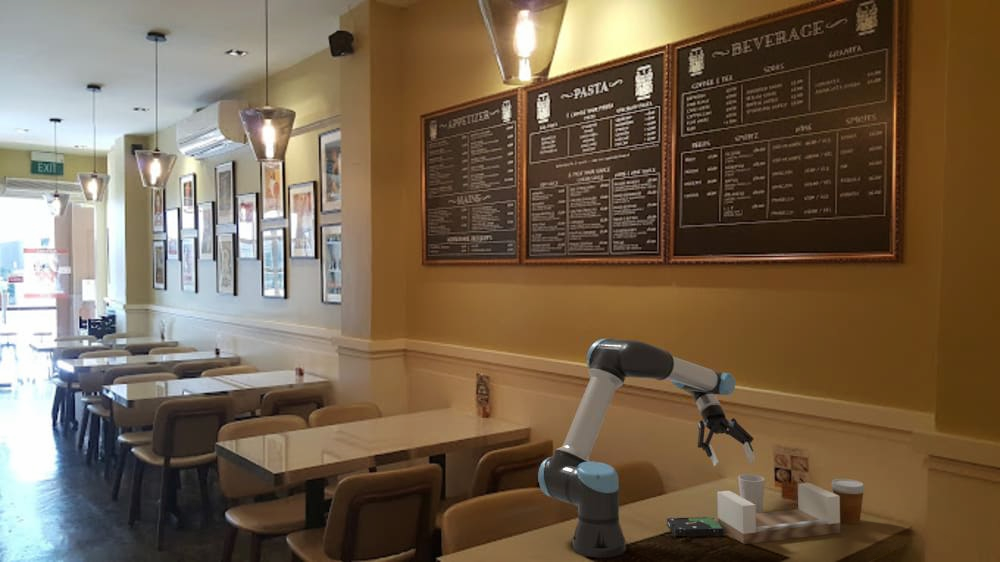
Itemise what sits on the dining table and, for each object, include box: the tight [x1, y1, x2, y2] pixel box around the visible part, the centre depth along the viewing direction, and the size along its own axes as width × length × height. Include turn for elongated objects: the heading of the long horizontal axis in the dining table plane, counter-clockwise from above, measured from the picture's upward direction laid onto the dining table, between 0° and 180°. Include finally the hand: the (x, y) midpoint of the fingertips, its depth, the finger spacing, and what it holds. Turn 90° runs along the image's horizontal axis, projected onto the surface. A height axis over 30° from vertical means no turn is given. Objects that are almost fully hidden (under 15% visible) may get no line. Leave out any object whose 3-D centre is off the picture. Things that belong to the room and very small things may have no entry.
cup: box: [738, 473, 766, 514], centre depth 225 cm, size 8×8×12 cm
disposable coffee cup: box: [830, 478, 866, 526], centre depth 217 cm, size 10×10×12 cm
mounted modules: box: [716, 482, 841, 534], centre depth 211 cm, size 32×14×8 cm, turn 103°
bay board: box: [717, 508, 841, 545], centre depth 211 cm, size 32×14×4 cm, turn 103°
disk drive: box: [666, 516, 725, 538], centre depth 213 cm, size 10×3×15 cm
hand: (734, 462), depth 235 cm, fingers open, 13 cm apart
